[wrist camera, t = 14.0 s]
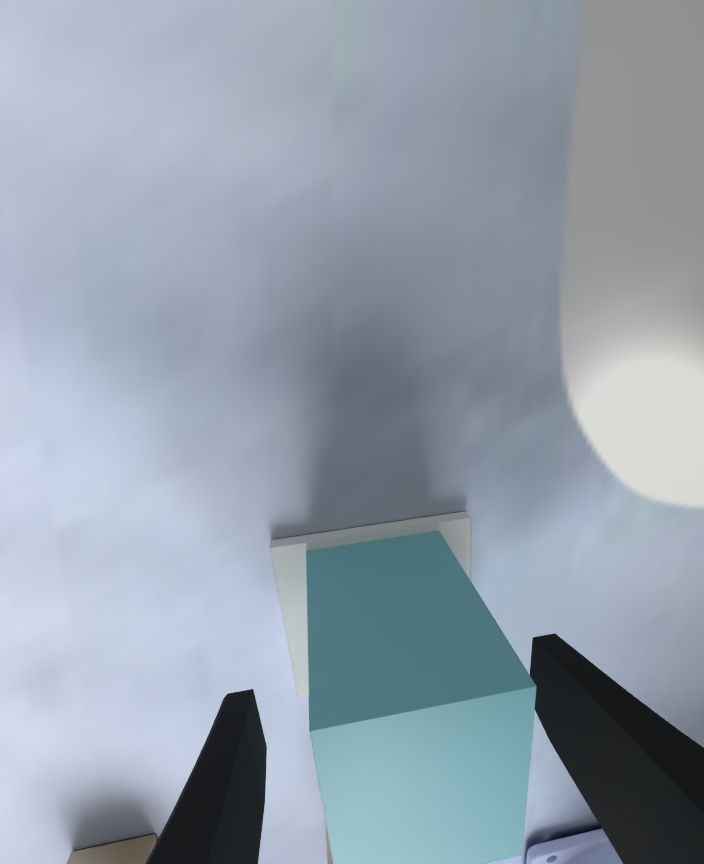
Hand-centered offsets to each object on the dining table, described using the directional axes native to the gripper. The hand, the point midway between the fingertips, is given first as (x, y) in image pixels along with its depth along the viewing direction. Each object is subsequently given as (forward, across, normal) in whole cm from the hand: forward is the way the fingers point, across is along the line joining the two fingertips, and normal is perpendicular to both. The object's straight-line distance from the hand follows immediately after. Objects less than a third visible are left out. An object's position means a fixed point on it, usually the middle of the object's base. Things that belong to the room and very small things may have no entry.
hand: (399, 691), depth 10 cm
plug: (+3, 0, +2) cm, 3 cm away
